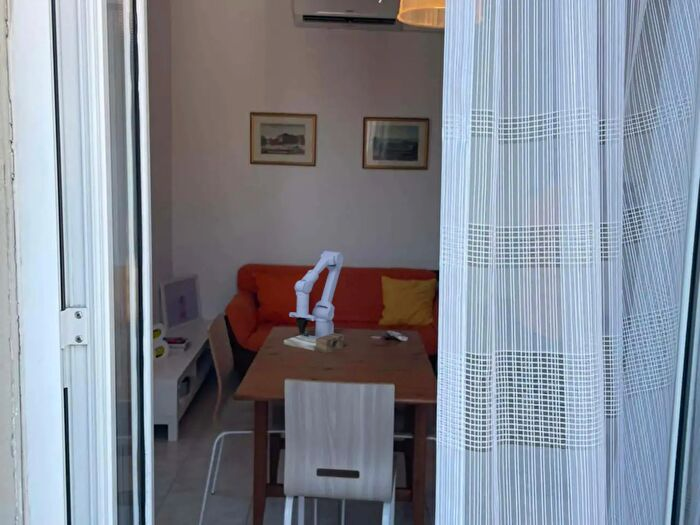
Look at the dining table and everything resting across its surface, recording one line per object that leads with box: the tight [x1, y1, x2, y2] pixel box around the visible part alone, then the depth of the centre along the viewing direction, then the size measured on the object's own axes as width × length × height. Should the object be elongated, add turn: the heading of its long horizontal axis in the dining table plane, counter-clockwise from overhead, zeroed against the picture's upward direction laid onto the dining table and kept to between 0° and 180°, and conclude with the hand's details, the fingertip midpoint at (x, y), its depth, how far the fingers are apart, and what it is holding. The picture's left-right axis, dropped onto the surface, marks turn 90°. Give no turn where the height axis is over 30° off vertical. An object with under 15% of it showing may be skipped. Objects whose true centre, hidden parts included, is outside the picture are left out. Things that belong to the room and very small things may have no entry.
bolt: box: [303, 329, 319, 343], centre depth 288 cm, size 3×10×4 cm, turn 56°
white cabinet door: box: [283, 332, 345, 354], centre depth 288 cm, size 14×25×6 cm, turn 56°
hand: (301, 333), depth 292 cm, fingers closed
